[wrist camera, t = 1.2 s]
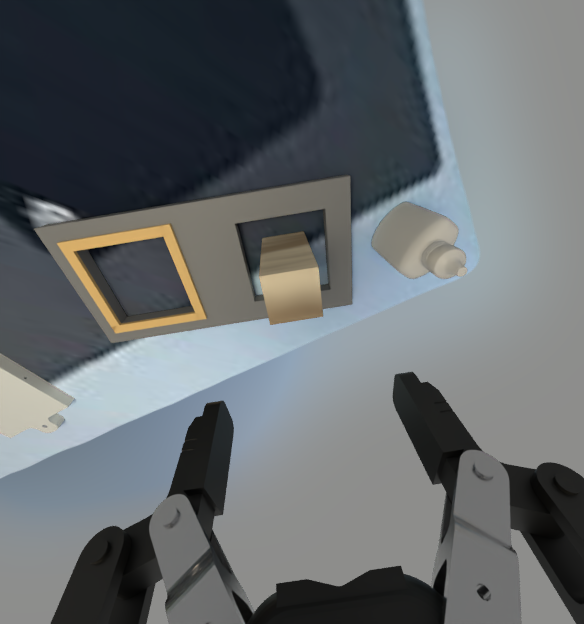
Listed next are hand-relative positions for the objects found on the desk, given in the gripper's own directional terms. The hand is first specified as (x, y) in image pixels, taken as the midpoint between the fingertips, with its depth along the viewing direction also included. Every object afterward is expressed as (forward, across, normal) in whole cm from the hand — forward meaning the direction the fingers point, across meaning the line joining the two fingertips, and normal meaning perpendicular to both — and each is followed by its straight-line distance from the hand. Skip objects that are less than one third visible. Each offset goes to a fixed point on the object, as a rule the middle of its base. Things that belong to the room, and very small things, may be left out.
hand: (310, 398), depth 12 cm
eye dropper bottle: (+20, -12, -1) cm, 23 cm away
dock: (+20, +8, 0) cm, 21 cm away
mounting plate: (+20, +43, +13) cm, 49 cm away
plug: (+20, 0, 0) cm, 20 cm away
